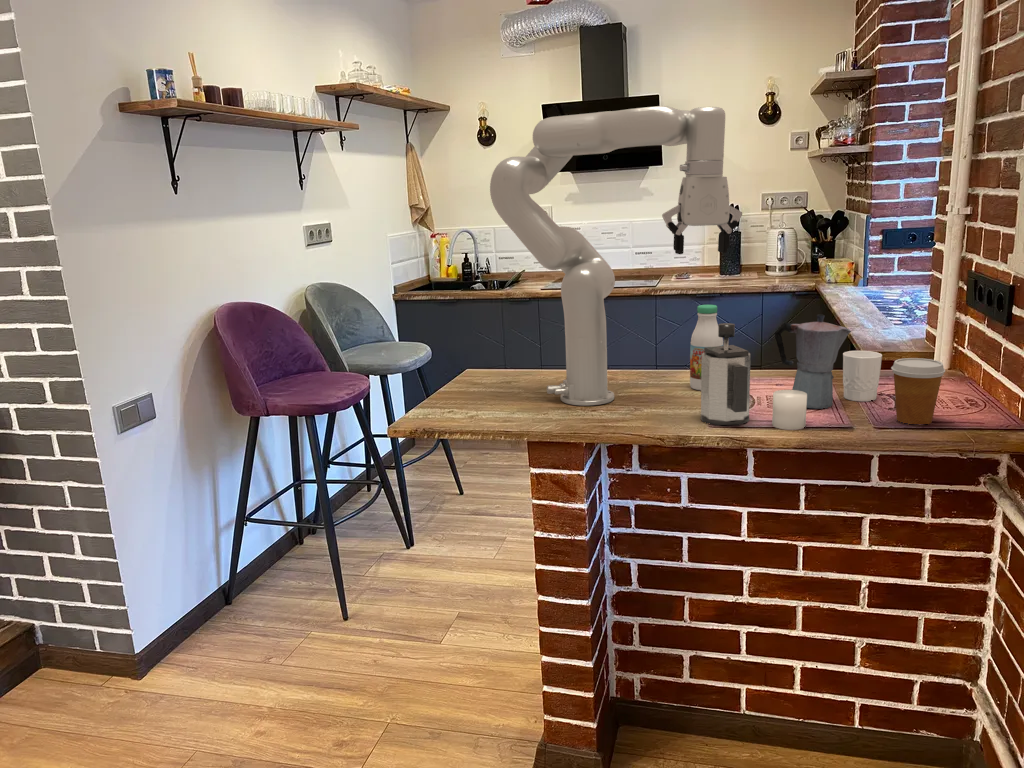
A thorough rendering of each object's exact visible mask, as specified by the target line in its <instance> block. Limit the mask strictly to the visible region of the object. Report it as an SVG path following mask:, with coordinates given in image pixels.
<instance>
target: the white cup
mask: <svg viewBox="0 0 1024 768" xmlns="http://www.w3.org/2000/svg"><path fill="white" fill-rule="evenodd" d="M882 359H883V354H882V353H879V352H876V351H872V350H871V351H870V350H849V351H844V352H843V353H842V385H843V398H844V399H846V400H849V401H854V402H872V401H871V400H873V401H876V400H877V394H878V388H879V383H880V376H881V368H882V361H883V360H882Z"/></svg>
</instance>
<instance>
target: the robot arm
mask: <svg viewBox="0 0 1024 768" xmlns="http://www.w3.org/2000/svg"><path fill="white" fill-rule="evenodd" d="M725 131H726V112H725V109H723V108H722V107H719V106H701V107H700V106H699V107H693V108H692V109H691V110H685V109H678V108H674V107H672V106H669V105H664V106H663V105H657V106H647V107H636V108H628V109H620V110H612V111H611V110H609V111H607V110H606V111H598V112H589V113H579V114H569V115H568V114H566V115H558V116H557V115H556V116H550V117H546V118H543V119H541V120H539V121H538V122H537V124H536V125H535V126H534V128H533V131H532V143H533V147H532V149H531V150H529V152H528V153H527V155H526V156H509V157H507V158H504V159H502V160H501V161H500V162H499V163H498V164H497V165H495V168H494V169H493V171H492V174H491V178H490V182H489V184H490V185H489V192H490V193H489V194H490V200H491V203H492V205H493V207H494V209H495V210H496V212H497V214H498V215H499V217H500V218H501V220H503V222H504V223H505V224H506V225H507V227H509V229H510V230H511V231H512V232H513V233H514V234H515V236H516V237H517V238H518V239H519V241H520V242H521V243H522V244H523V245H524V247H526V249H527V250H528V251H529V253H531V255H532V256H533V257H534V258H535V259H536V260H537V262H538V263H539V264H540V265H541V266H542V267H544V268H545V269H546V270H550V271H557V270H561V271H562V272H563V273H564V274H565V275H564V276H563V279H562V281H561V286H560V296H561V302H562V308H563V317H564V334H565V335H564V336H565V337H564V339H565V340H564V341H565V369H566V370H565V371H566V372H565V373H566V379H562V382H560V383H559V384H558V385H555V384H552V385H551V384H550V385H547V386H546V393H547V394H548V395H549V394H555V396H556V395H560V401H562V402H563V403H565V404H568V405H573V406H585V407H586V406H588V407H589V406H598V405H604V404H608V403H611V402H613V400H614V399H615V393H614V392H613V391H611V390H609V389H608V350H607V349H608V346H607V345H608V344H607V342H608V341H607V339H608V338H607V317H606V316H607V315H606V310H605V309H606V308H605V300H604V299H605V298H607V297H608V296H609V295H610V294H611V293H612V292H613V291H614V288H615V283H616V278H615V277H616V275H615V273H614V270H613V269H612V267H611V266H610V265H609V262H607V261H606V260H605V258H603V256H602V255H601V254H600V252H598V251H597V250H596V248H595V247H594V246H593V245H592V244H591V243H590V242H589V241H588V239H587V238H586V237H585V236H584V235H583V234H582V233H581V232H580V231H578V230H577V229H575V228H573V227H570V226H559V225H558V224H557V223H556V222H555V221H554V220H553V219H552V218H551V217H550V216H549V214H547V212H546V211H545V209H543V208H542V207H541V206H540V205H539V204H538V203H537V202H536V201H535V200H534V199H533V198H532V197H531V195H534V194H536V193H539V192H541V191H543V189H545V187H546V186H548V185H549V183H551V181H552V180H553V179H554V178H555V177H556V176H557V175H558V173H560V171H561V170H562V169H563V168H564V167H565V166H566V164H567V163H568V162H569V161H570V160H571V159H572V158H573V156H583V155H584V156H585V155H599V154H606V153H610V152H612V151H613V152H614V151H615V150H618V149H624V148H635V147H646V146H648V147H649V146H665V147H675V146H682V145H686V161H685V162H684V164H679V171H680V172H683V173H684V175H685V176H683V177H682V179H681V184H680V189H679V193H678V201H677V205H675V206H674V207H672V208H670V209H669V210H667V211H665V212H663V213H662V215H661V216H662V220H663V222H664V224H665V226H666V228H668V230H669V231H670V232H671V233H672V235H673V251H674V252H675V254H677V255H683V254H684V253H685V252H684V249H685V247H684V246H685V244H684V243H685V236H684V235H683V232H684V231H685V230H686V229H687V228H688V226H690V227H691V226H692V227H699V226H700V227H701V226H702V227H704V226H705V227H706V226H707V227H708V226H717V227H718V230H720V232H719V233H718V241H717V242H718V243H717V252H718V253H723V254H726V253H727V252H728V249H729V245H730V234H731V233H732V232H733V230H734V229H735V228H736V227H737V226H738V224H739V221H740V220H741V218H742V216H743V212H742V211H740V210H739V209H737V208H735V207H733V206H732V205H731V204H730V192H729V183H728V177H727V176H723V173H724V157H725V156H724V155H725V153H724V152H725V135H726V134H725V133H726V132H725ZM730 214H731V215H732V218H731V220H730ZM673 216H676V220H677V223H676V224H675V223H674V221H673V220H672V217H673ZM729 220H730V221H729Z"/></svg>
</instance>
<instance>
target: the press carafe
mask: <svg viewBox="0 0 1024 768" xmlns="http://www.w3.org/2000/svg"><path fill="white" fill-rule="evenodd" d="M704 352H705V353H703V354H702V367H701V390H700V391H701V393H700V395H701V397H700V420H702V421H701V422H703V423H704V422H706V423H705V424H707V423H710V424H709V425H711V424H715V425H714V426H716V425H738V426H740V425H739V424H743V423H746V422H748V421H749V422H750V394H751V393H750V392H751V391H750V389H751V388H750V387H751V355H752V354H751V353H750V352H749V350H747V349H744V348H742V347H739V346H736V345H735V344H730V345H729V344H728V350H724V345H723V346H715V347H704ZM749 422H748V423H749ZM746 424H747V423H746ZM743 425H744V424H743Z"/></svg>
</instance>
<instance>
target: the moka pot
mask: <svg viewBox="0 0 1024 768" xmlns="http://www.w3.org/2000/svg"><path fill="white" fill-rule="evenodd" d="M824 319H825V315H824V314H823V313H822V314H821V313H819V314H816V320H817V321H810V322H802V323H789V322H783V323H782V324H781V325H780V326H779V327H778V328H777V330H775V332H774V339H775V342H776V345H777V348H778V352H779V357H780V360H781V362H782V363H781V364H782V365H786V366H793V365H794V363H795V361H793V360H788V359H787V356H786V353H785V352H786V351H785V347H784V342H783V337H782V334H783V333H784V332H786V331H787V332H788V333H794V334H795V344H796V346H795V347H796V348H795V349H796V355H795V356H796V359H797V362H796V366H797V369H796V372H795V377H794V381H793V385H792V388H791V390H798V391H803V392H805V393H807V407H806V409H815V410H817V409H819V410H821V409H822V410H823V408H825V409H829V408H828V407H830V408H831V407H832V406H833V404H834V402H833V401H834V398H833V397H834V395H833V394H834V392H833V391H834V389H833V387H834V386H833V379H834V375H833V369H834V363H836V362H837V357H838V354H839V351H840V349H841V347H842V345H843V343H845V340H846V339H847V337H848V336H849V334H850V333H852V331H851V329H849V328H848V327H846V326H841V325H836V324H833V323H829V322H825V321H824Z"/></svg>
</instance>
